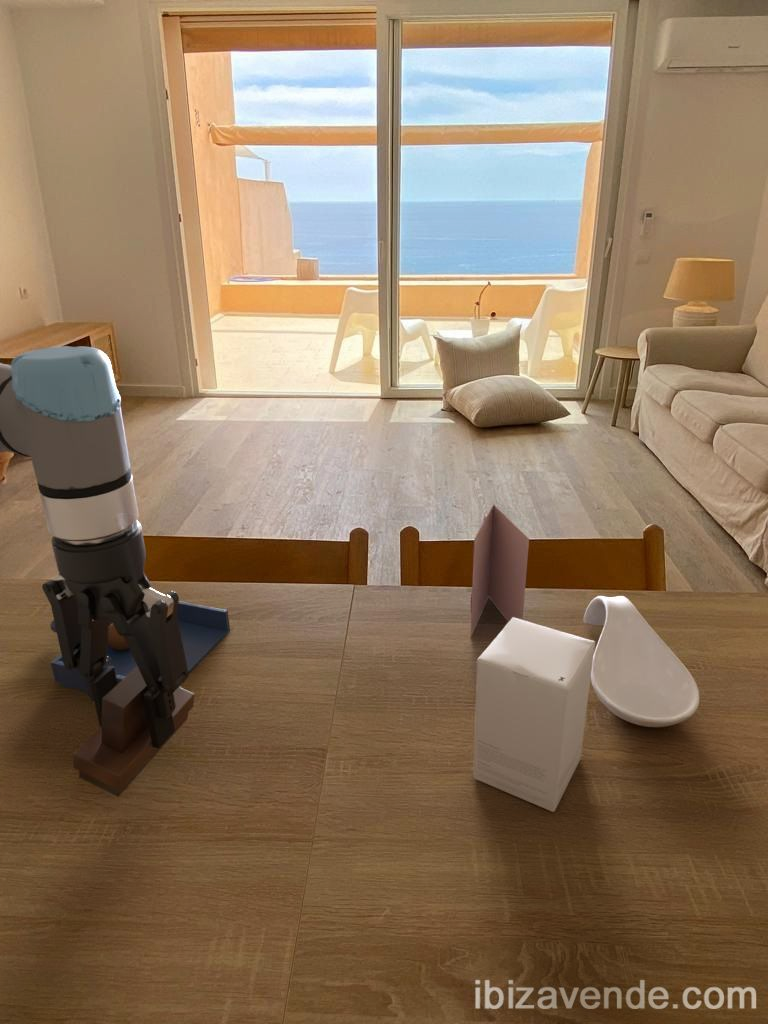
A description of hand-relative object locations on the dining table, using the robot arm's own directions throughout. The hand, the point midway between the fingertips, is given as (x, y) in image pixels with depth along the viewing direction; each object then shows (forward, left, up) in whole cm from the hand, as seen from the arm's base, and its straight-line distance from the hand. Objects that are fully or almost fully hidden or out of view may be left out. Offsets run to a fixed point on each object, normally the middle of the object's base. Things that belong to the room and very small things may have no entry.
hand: (138, 731), depth 71 cm
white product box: (+38, +13, -5) cm, 40 cm away
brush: (-1, 0, -2) cm, 2 cm away
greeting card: (+30, +40, -5) cm, 50 cm away
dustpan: (-16, +17, -5) cm, 24 cm away
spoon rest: (+47, +32, -5) cm, 57 cm away
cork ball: (-16, +17, -3) cm, 24 cm away
